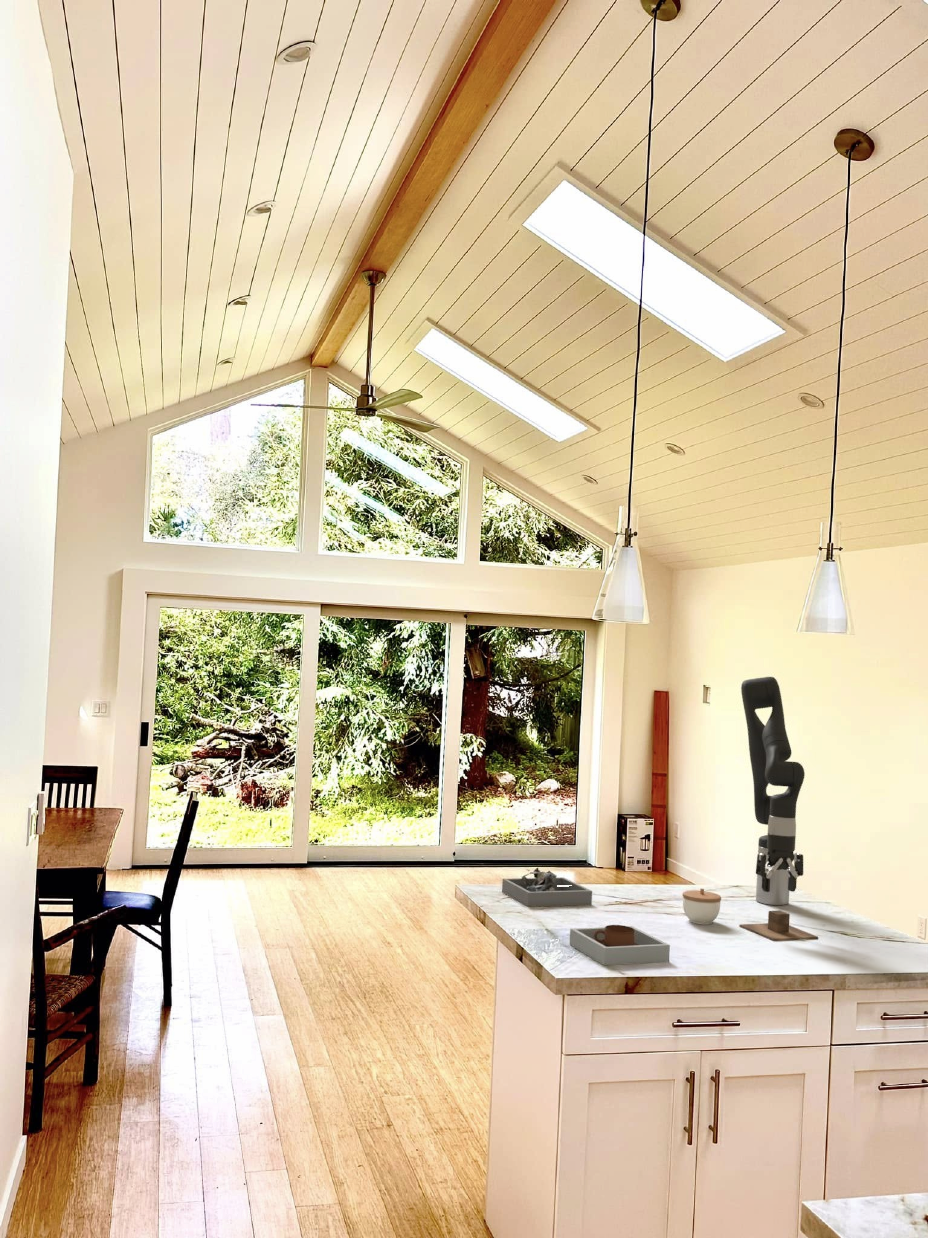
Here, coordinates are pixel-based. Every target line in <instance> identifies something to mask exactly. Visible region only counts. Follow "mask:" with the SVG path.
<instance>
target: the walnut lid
mask: <svg viewBox="0 0 928 1238" xmlns="http://www.w3.org/2000/svg"><path fill="white" fill-rule="evenodd" d="M767 914H768V915H767V917H768V919H767V920H768V921H767V923H746V924H745V923H744V924H742V923H741V924H739V925H738V927H739V928H741V929H744V930H747V931H748V932H750V933H751V932H752V933H753V934H755V935H757V936H759V937H763V938H765V939H767V940H770V941H772V942H780V941H784V942H785V941H800V940H799V939H806V940H818V939H819V936H817V935H815V934H812V933H810V932H808V931H805V930H802V929H800V928H797V927H794V926H792V925H790V915H791V914H790V913H788V912H786V911H783V910H768V913H767Z"/></svg>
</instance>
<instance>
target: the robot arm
mask: <svg viewBox="0 0 928 1238" xmlns="http://www.w3.org/2000/svg"><path fill="white" fill-rule="evenodd" d="M740 685H741V688H740V690H741V691H740V693H741V698H742V705H743V710H744V714H745V716H744V717H745V722H746V726H747V737H748V751H749V758H750V766H751V773H752V779H753V780H752V781H753V803H754V804H753V805H754V815H755V819H756V821H757V822H758V824H761V825H765V826H767V834H766V835H762V836H760V837H759V838H758V842H757V843H758V844H757V845H758V847H757V848H758V850H757V857H756V866H755V869H756V870H755V874H756V888H755V889H756V892H755V901H756V902H758V903H761V904H765V905H771V906H785V905H787V904H790V892H796V889H797V882H798V881H797V879H798V878H799V877H800V876H802V877H803V876H804V855H803V854H801V853H798V852H795V853H794V851H796V839H797V838H796V837H797V836H796V835H797V821H796V820H797V819H796V816H797V803H798V802H797V801H798V799H799V795H800V792H801V790H802V789H801V788H802V786H803V782H804V780H805V775H806V774H805V769H804V767H803V765H802V764H801V763H800V762H798V761H788V760H789V759H790V758H791V756H792V749H791V748H792V747H791V745H790V744H791V743H790V742H789V741H790V740H789V738H788V733H787V729H786V723H785V714H784V706H783V700H782V693H781V688H780V685H779V683H778V680H777V679H776V678H775V677H773V676H764V677H756V678H750V679H745V680H743V681H742V683H741V684H740ZM768 708H771V713H770V714H769V717H768V719H767V722H766V723H765V724H764V723H763V721H762V720H761V719H760V718H759V716H758V714H757V711H756V710H760V709H768ZM769 785H771V786H774V787H787V788H786V790H785V791H784V792H783V793H777V794H773V795H768V793H767V788H768V786H769ZM793 863H794V864H793Z"/></svg>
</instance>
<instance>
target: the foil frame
mask: <svg viewBox="0 0 928 1238" xmlns="http://www.w3.org/2000/svg"><path fill="white" fill-rule="evenodd" d="M526 878H527V879H528V880H529V881H531V882H532V883H534V882H535V881H536V878H535V877H526ZM521 880H522V877H520V878H502V884H501V887H502V888H501V892H502V893H503V894H505V895H506V896H509V897H510V898H513V899H514V901H515V900H516V901H517V902H519V903H521V904H522V905H525V906H526V907H552V906H553V907H554V906H555V907H556V906H557V907H558V906H581V905H583V906H585V905H586V906H587V905H589V906H590V905H592V904H593V890H591V889H589V888H587V887H585V886H582V885H581V884H578V883H576V882H574V881H572V880H571V879H568V878H566V877H564V876H562V877H556V879H555V883H548V884H547V886H549V885H572V886H569V887H556V891H542V892H530V891H528V890H526V889H524V888H522V887H520V885H521Z"/></svg>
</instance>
